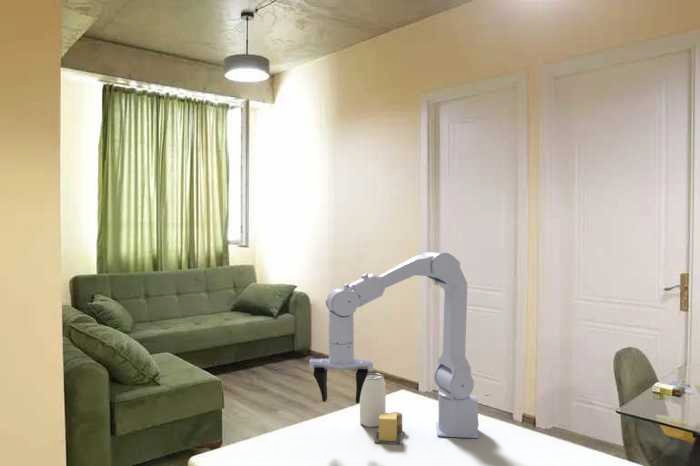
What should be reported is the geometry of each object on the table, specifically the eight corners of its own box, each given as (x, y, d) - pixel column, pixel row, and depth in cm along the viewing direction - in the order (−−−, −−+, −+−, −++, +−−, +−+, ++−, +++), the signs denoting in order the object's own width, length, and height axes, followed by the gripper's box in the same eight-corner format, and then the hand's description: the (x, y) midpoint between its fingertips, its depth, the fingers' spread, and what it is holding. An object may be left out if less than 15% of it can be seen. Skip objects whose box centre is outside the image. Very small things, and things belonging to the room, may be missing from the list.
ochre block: (396, 434, 127) (396, 413, 127) (396, 441, 123) (396, 419, 123) (380, 433, 127) (380, 412, 127) (378, 440, 123) (378, 418, 123)
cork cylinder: (402, 428, 131) (402, 412, 131) (401, 433, 128) (401, 417, 128) (389, 427, 132) (389, 411, 132) (388, 432, 129) (388, 416, 129)
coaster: (401, 434, 128) (401, 432, 128) (400, 444, 122) (400, 442, 122) (376, 433, 128) (376, 431, 128) (374, 443, 122) (374, 441, 122)
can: (386, 428, 132) (386, 379, 132) (359, 427, 132) (359, 379, 132) (384, 418, 138) (384, 372, 138) (359, 418, 138) (359, 372, 138)
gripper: (306, 344, 119) (306, 405, 119) (371, 346, 117) (371, 408, 117) (312, 338, 126) (312, 395, 126) (373, 339, 124) (373, 398, 124)
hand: (341, 401), depth 122 cm, fingers open, 7 cm apart
